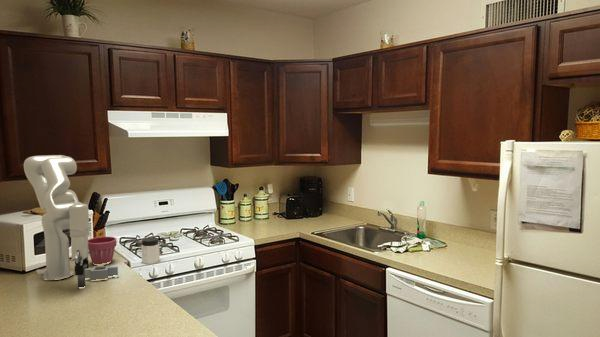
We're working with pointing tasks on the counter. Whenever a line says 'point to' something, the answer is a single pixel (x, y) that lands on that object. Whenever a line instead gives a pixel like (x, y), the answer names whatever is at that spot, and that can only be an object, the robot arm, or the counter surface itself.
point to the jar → (150, 250)
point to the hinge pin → (82, 277)
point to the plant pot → (101, 249)
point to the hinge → (101, 272)
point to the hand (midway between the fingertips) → (82, 271)
